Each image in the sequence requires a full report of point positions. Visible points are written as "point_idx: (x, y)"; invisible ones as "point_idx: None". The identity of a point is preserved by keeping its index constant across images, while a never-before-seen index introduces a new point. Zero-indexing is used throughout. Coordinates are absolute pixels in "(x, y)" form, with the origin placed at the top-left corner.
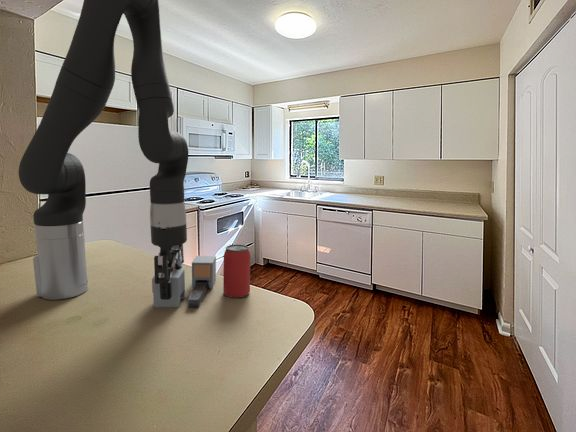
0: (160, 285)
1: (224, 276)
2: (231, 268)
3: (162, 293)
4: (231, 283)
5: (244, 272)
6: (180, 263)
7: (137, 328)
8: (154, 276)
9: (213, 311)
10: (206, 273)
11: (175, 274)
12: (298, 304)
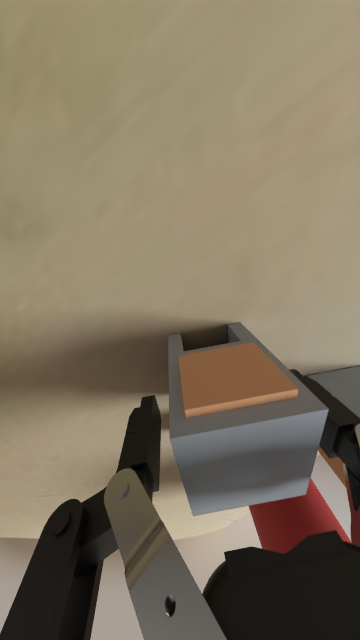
0: (132, 456)
1: (281, 516)
2: None
3: (129, 431)
4: (254, 510)
5: None
6: (352, 527)
7: (39, 358)
8: (187, 439)
9: (173, 453)
10: (333, 461)
11: (234, 494)
12: (220, 525)
